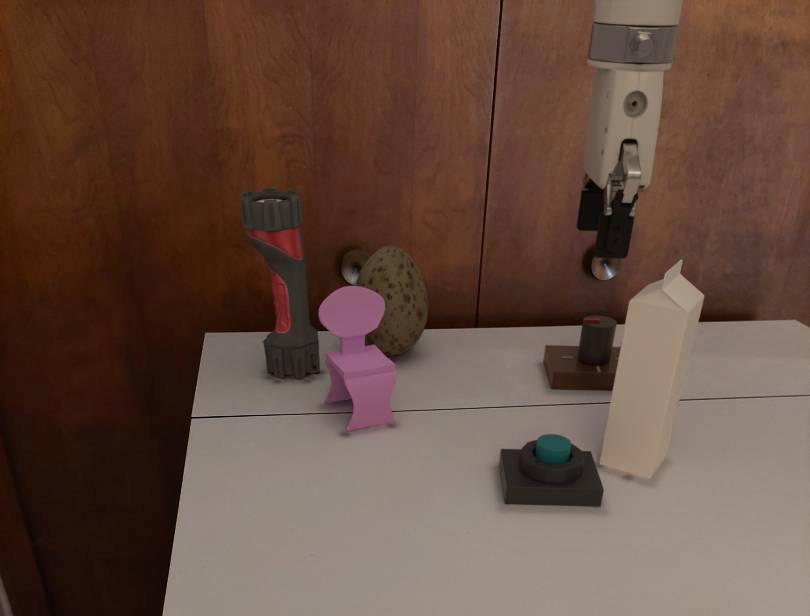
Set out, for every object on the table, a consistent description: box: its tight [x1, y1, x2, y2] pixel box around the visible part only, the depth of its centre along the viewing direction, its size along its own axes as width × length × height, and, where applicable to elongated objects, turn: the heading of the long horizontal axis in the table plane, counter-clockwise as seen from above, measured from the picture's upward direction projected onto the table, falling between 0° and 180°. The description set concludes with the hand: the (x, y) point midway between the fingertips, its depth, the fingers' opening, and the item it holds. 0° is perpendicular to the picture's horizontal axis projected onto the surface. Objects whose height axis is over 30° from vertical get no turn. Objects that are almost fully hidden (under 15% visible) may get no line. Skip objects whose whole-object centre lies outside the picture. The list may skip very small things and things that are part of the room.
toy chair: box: [317, 285, 397, 432], centre depth 95 cm, size 8×9×15 cm
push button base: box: [498, 439, 605, 508], centre depth 85 cm, size 10×8×4 cm
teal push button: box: [535, 433, 572, 464], centre depth 84 cm, size 4×4×2 cm
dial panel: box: [542, 344, 621, 391], centre depth 109 cm, size 12×9×3 cm
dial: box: [577, 315, 618, 365], centre depth 107 cm, size 4×4×6 cm
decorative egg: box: [354, 245, 429, 357], centre depth 111 cm, size 11×11×15 cm
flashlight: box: [240, 186, 321, 379], centre depth 103 cm, size 8×8×23 cm
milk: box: [599, 258, 705, 480], centre depth 85 cm, size 6×6×22 cm
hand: (600, 243), depth 82 cm, fingers open, 9 cm apart
